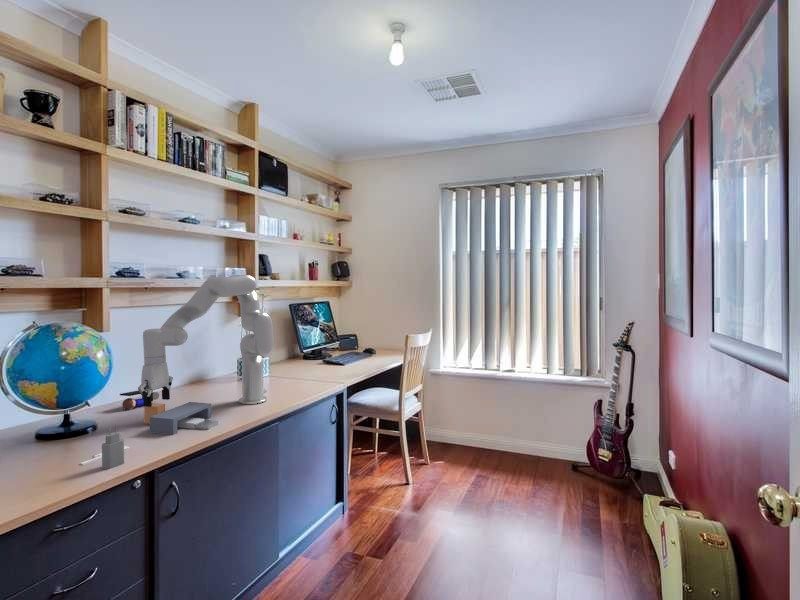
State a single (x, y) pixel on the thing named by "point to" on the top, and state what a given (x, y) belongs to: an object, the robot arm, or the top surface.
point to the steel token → (206, 424)
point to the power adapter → (112, 450)
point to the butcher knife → (98, 457)
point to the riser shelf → (178, 417)
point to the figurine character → (131, 403)
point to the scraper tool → (160, 408)
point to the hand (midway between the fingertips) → (157, 402)
